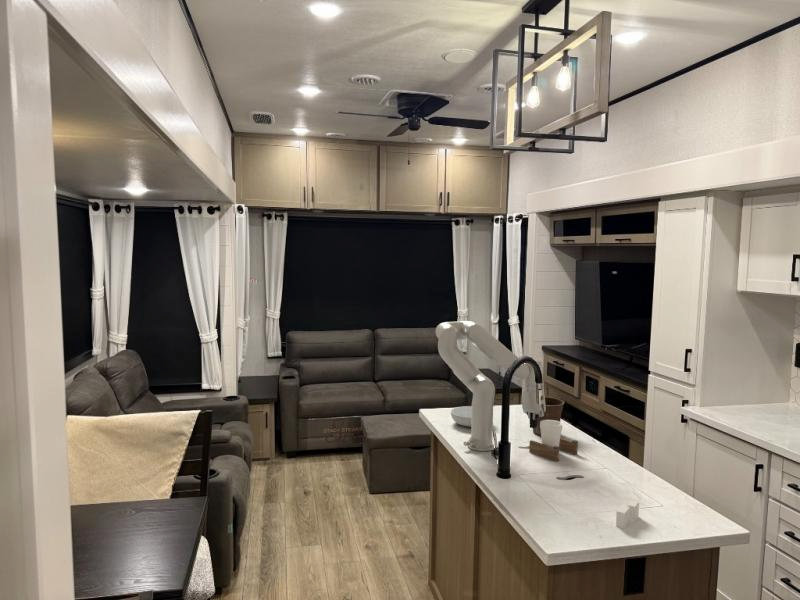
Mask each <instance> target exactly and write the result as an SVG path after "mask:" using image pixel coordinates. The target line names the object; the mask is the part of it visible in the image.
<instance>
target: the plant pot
mask: <svg viewBox="0 0 800 600" xmlns="http://www.w3.org/2000/svg"><path fill="white" fill-rule="evenodd" d="M545 405H546V411H545V412H543V413H544V416H543V417H539V418H538V419H537V427H536V428H532V432H533V434H535V435H538V436H539V437H541V429H540V421H542V420H555V421H559V422H561V418H562V412H563V410H564V405H565V401H564V400H562V399H559V398H557V397H550V396H545Z"/></svg>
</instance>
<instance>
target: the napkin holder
mask: <svg viewBox="0 0 800 600" xmlns="http://www.w3.org/2000/svg"><path fill="white" fill-rule="evenodd" d="M639 511H640V501H636V500H633V499H631V500H629V502H628V503H627V504H625V503H622V504H621V506H620V507H619V508H618V509H617V510H616V517H615V520H616V521H615V526H616V527H618V528H621V529H625V528H626V527H627V525H629V523H635V521H636V520H637V519H638V518H639V514H640V513H639Z"/></svg>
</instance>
